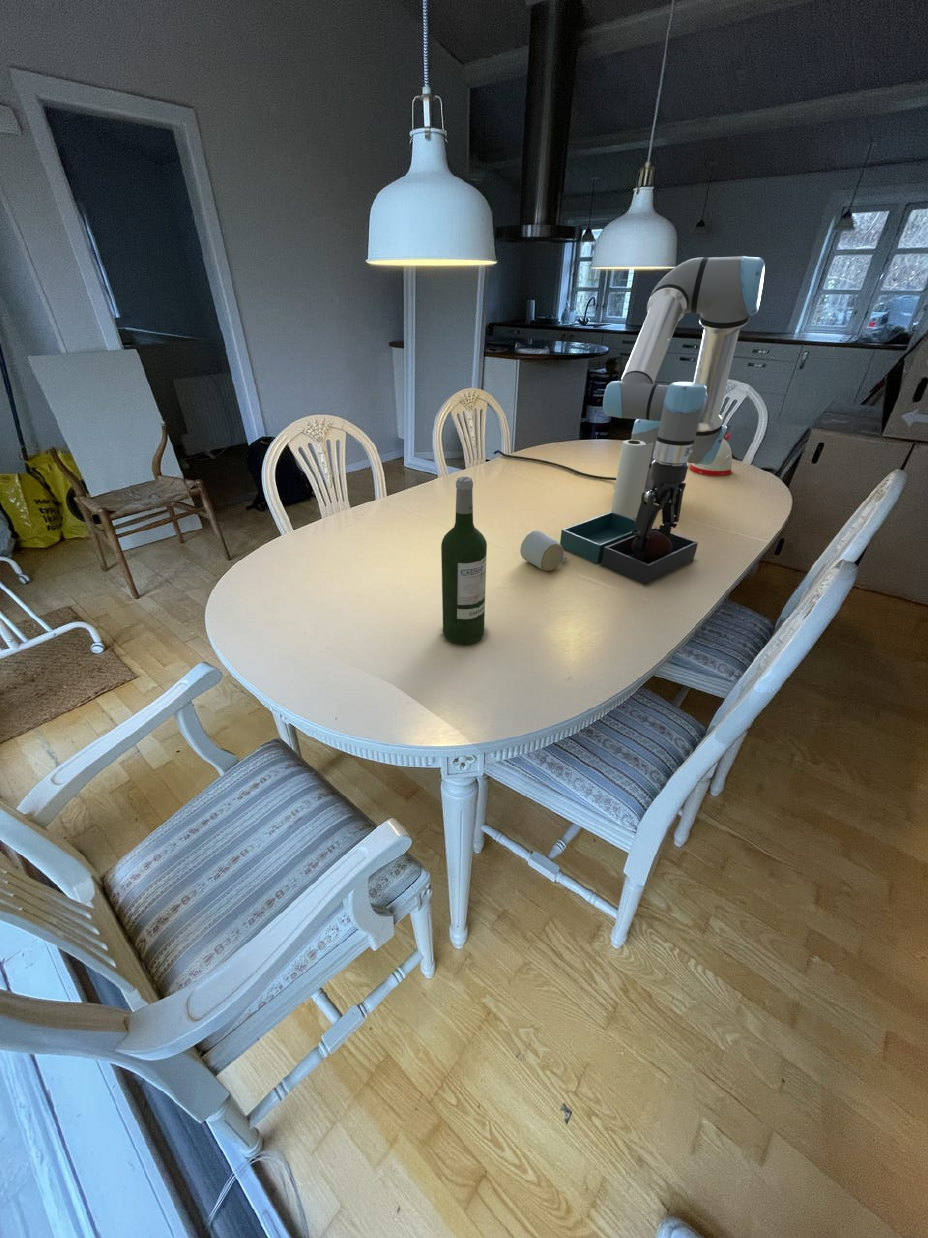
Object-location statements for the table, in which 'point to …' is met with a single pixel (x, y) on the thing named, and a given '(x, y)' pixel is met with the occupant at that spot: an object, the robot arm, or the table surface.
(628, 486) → the paper towel roll
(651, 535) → the potato
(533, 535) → the ceramic mug
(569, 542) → the left tote
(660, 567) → the box
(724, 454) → the kitchen timer
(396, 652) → the table surface
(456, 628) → the wine bottle
